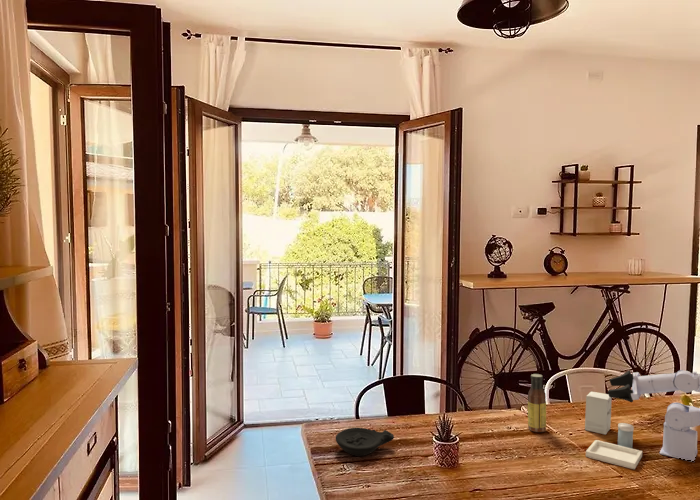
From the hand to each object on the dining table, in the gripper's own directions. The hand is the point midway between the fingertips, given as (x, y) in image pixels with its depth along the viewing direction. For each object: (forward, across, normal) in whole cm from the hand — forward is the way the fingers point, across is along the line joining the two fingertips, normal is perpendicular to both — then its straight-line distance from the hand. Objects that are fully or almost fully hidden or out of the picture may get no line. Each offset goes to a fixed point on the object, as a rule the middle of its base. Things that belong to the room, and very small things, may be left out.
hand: (609, 388), depth 185 cm
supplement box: (+9, -3, +18) cm, 20 cm away
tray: (+1, +19, +13) cm, 23 cm away
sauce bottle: (+27, +9, +9) cm, 29 cm away
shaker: (-1, +9, +17) cm, 19 cm away
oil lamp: (+65, +55, -17) cm, 87 cm away
